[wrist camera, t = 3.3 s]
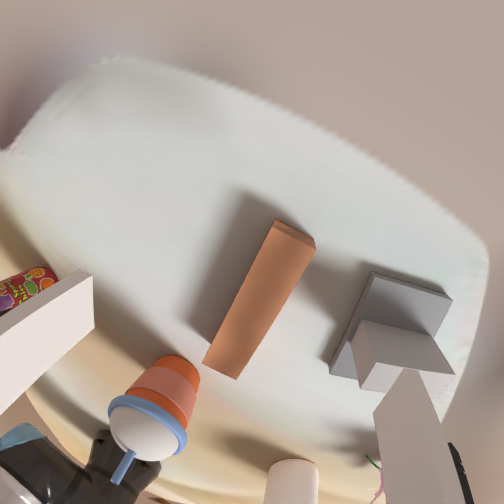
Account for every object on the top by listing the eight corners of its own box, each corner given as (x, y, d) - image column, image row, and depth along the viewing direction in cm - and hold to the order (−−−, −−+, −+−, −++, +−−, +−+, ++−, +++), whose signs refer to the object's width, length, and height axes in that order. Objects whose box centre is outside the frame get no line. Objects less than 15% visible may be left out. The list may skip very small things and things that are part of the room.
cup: (319, 456, 36) (317, 508, 26) (316, 486, 39) (314, 529, 29) (267, 457, 37) (258, 508, 27) (272, 486, 40) (265, 529, 31)
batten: (211, 342, 32) (201, 363, 28) (275, 218, 27) (271, 226, 23) (242, 357, 32) (236, 379, 28) (313, 237, 27) (316, 249, 23)
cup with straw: (210, 404, 35) (165, 514, 18) (149, 386, 36) (88, 480, 19) (213, 355, 32) (153, 482, 15) (144, 336, 33) (59, 436, 16)
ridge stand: (328, 366, 30) (333, 420, 22) (370, 271, 26) (396, 312, 18) (400, 379, 29) (417, 428, 21) (447, 294, 26) (484, 334, 18)
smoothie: (77, 303, 34) (-26, 382, 15) (51, 317, 36) (-36, 384, 17) (50, 249, 32) (-65, 306, 13) (27, 270, 34) (-68, 323, 15)
